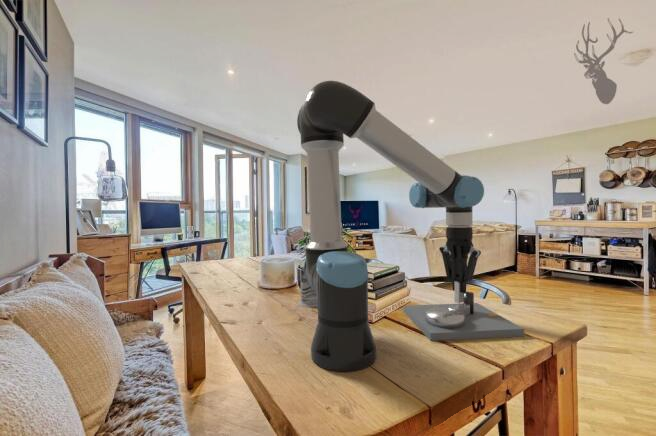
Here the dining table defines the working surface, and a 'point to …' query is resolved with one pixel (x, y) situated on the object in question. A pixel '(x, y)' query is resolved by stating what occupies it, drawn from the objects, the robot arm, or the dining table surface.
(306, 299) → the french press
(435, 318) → the cam lever
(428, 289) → the dining table surface
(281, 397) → the dining table surface
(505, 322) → the stand
